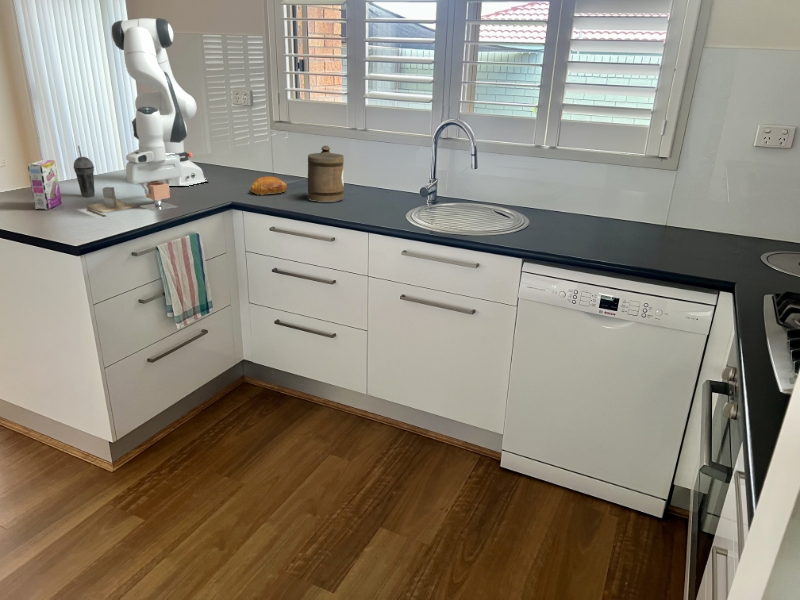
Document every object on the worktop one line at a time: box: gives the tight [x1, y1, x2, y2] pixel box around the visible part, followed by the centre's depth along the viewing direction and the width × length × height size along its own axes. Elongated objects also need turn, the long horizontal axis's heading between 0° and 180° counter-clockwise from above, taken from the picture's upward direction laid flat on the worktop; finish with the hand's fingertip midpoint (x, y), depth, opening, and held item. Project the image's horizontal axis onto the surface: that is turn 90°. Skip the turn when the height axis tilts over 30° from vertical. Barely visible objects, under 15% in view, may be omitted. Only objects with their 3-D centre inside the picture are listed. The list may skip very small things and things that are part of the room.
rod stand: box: [138, 199, 178, 212], centre depth 221 cm, size 10×10×7 cm
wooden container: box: [307, 145, 345, 201], centre depth 246 cm, size 15×15×22 cm
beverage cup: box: [73, 145, 96, 199], centre depth 235 cm, size 7×7×20 cm
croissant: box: [250, 176, 288, 194], centre depth 257 cm, size 14×16×8 cm
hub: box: [86, 186, 136, 218], centre depth 217 cm, size 12×12×8 cm
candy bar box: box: [27, 159, 63, 211], centre depth 218 cm, size 11×5×16 cm, turn 5°
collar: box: [145, 181, 171, 201], centre depth 219 cm, size 6×6×5 cm
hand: (157, 192), depth 220 cm, fingers closed on collar, 6 cm apart
